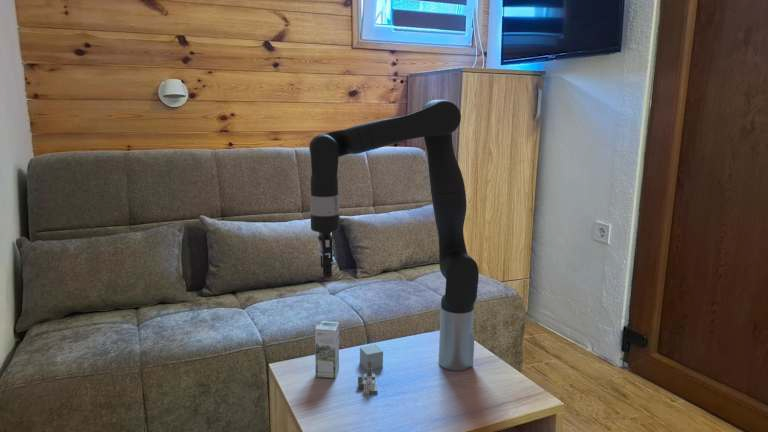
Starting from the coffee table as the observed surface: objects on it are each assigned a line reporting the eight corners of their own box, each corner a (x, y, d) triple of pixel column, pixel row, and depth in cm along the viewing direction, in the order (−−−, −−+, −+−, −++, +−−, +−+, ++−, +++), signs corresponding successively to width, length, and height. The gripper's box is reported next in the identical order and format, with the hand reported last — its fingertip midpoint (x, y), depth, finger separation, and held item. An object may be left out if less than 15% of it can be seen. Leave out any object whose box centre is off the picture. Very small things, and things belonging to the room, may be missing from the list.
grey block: (375, 360, 157) (375, 344, 156) (382, 367, 153) (383, 351, 152) (359, 363, 155) (359, 347, 154) (366, 371, 151) (366, 354, 150)
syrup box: (339, 369, 151) (339, 321, 148) (335, 379, 145) (335, 329, 143) (319, 368, 152) (319, 319, 149) (314, 378, 146) (314, 328, 143)
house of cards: (345, 378, 147) (345, 352, 146) (377, 378, 147) (377, 352, 146) (344, 395, 138) (344, 368, 137) (377, 395, 139) (378, 368, 137)
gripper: (342, 217, 133) (343, 279, 137) (336, 206, 147) (337, 263, 150) (311, 218, 132) (313, 280, 135) (309, 207, 146) (310, 264, 149)
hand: (326, 271), depth 143 cm, fingers open, 8 cm apart
